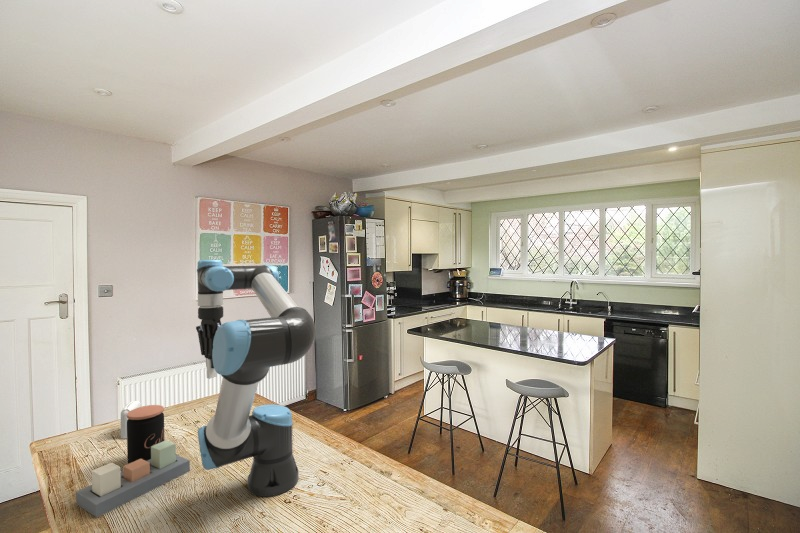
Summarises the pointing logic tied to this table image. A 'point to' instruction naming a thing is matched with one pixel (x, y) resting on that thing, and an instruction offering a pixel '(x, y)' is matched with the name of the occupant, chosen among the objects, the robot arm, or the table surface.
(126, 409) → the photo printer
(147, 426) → the coffee jar
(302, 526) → the table surface
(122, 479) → the slate panel
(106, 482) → the cream button
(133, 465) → the terracotta button
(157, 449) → the sage button
